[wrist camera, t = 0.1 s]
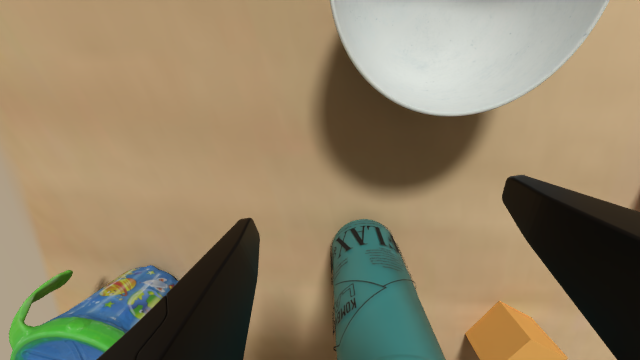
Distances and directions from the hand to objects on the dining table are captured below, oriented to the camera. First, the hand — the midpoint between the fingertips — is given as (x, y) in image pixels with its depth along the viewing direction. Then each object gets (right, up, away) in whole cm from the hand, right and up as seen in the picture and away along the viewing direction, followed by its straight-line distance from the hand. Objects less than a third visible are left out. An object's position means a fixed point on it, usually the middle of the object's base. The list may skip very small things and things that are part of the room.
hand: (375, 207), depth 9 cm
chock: (+20, -17, +22) cm, 34 cm away
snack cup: (-21, -12, +21) cm, 32 cm away
